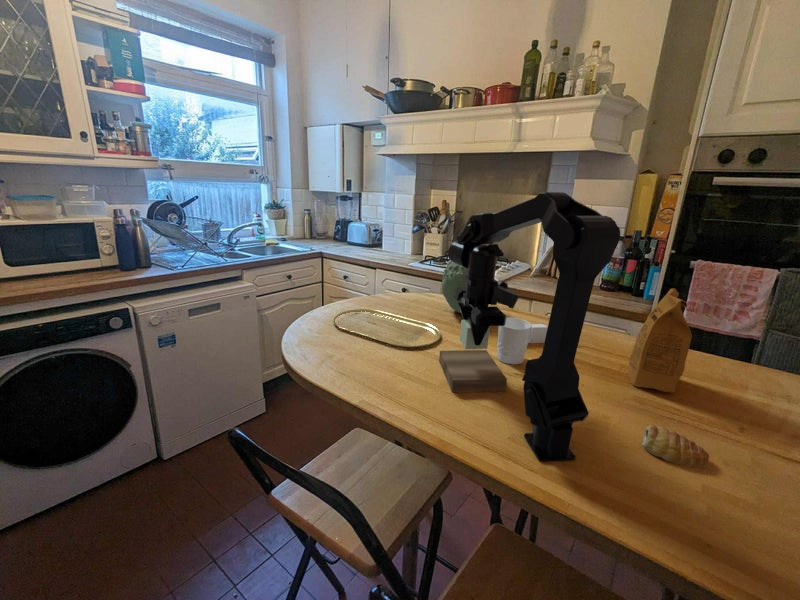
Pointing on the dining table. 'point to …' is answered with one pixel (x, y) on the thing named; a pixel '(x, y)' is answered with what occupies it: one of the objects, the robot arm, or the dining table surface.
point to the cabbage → (453, 283)
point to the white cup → (513, 340)
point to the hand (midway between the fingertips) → (474, 340)
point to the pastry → (674, 447)
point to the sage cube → (471, 337)
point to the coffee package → (661, 346)
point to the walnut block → (471, 371)
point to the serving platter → (402, 319)
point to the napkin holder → (537, 333)
